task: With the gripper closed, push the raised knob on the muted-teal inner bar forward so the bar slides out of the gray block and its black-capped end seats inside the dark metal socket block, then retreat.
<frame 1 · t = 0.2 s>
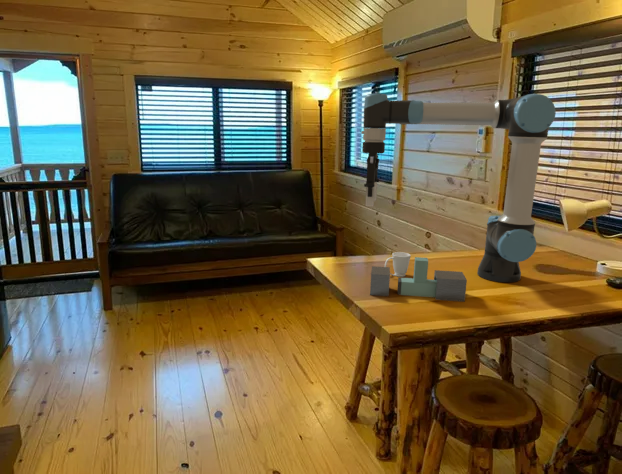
hand: (371, 203, 165), 28 cm above the table, fingers open, 13 cm apart
cup: (396, 275, 176), on the table
socket: (379, 291, 158), on the table
gray block: (448, 295, 155), on the table
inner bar: (431, 277, 155), point 6 cm above the table, slide at 0.0 cm
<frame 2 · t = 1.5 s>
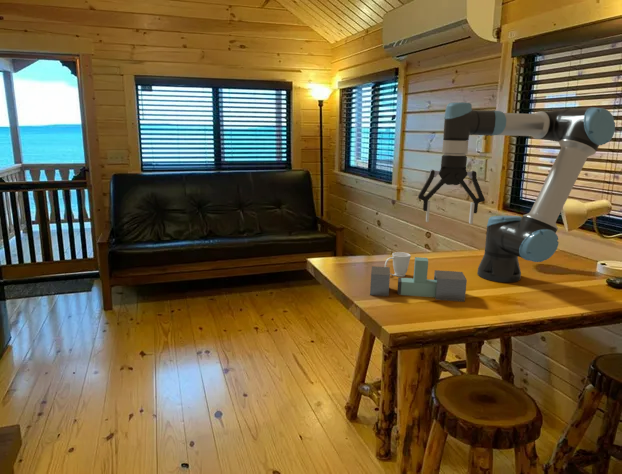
hand: (448, 222, 150), 25 cm above the table, fingers open, 13 cm apart
nothing on the table moved.
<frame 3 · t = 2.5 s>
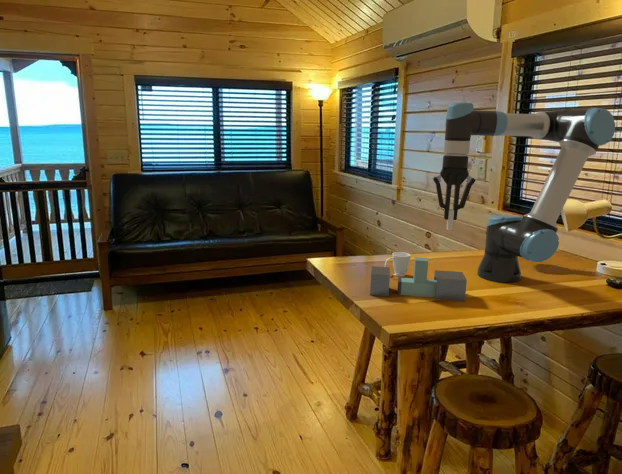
hand: (449, 229, 150), 22 cm above the table, fingers closed
nothing on the table moved.
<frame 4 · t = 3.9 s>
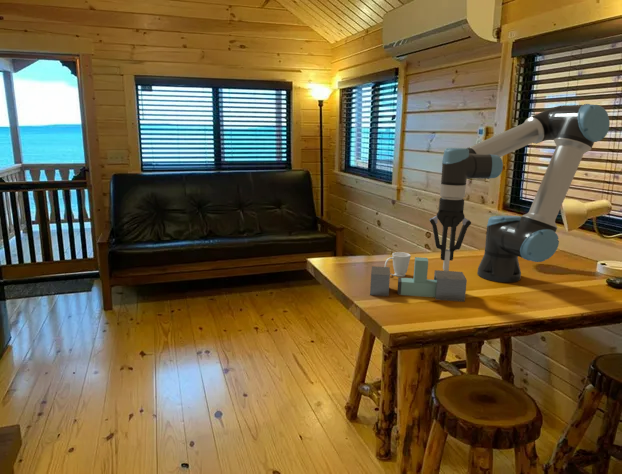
hand: (445, 269, 153), 9 cm above the table, fingers closed
nothing on the table moved.
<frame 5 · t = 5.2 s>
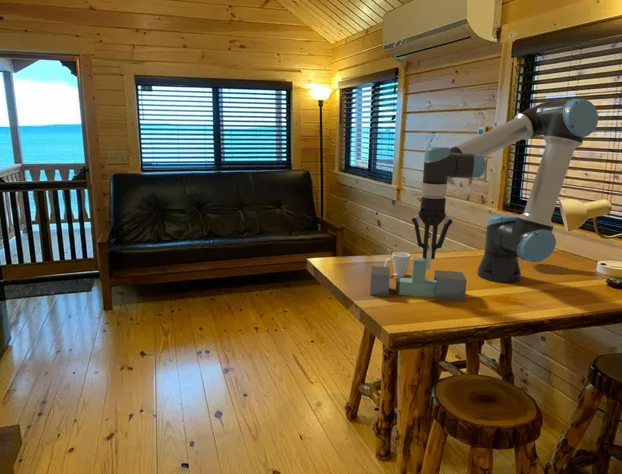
hand: (427, 268, 154), 9 cm above the table, fingers closed
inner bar: (429, 277, 155), point 6 cm above the table, slide at 0.6 cm, touching gripper
everything else where it was.
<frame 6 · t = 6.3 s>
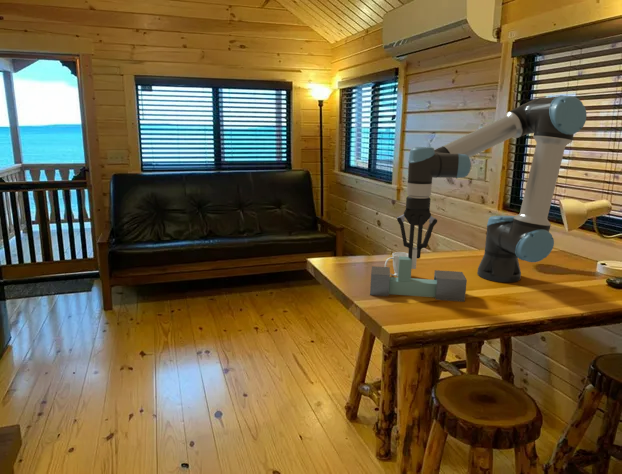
hand: (413, 267, 155), 9 cm above the table, fingers closed
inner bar: (415, 276, 155), point 6 cm above the table, slide at 5.1 cm, touching gripper
everything else where it was.
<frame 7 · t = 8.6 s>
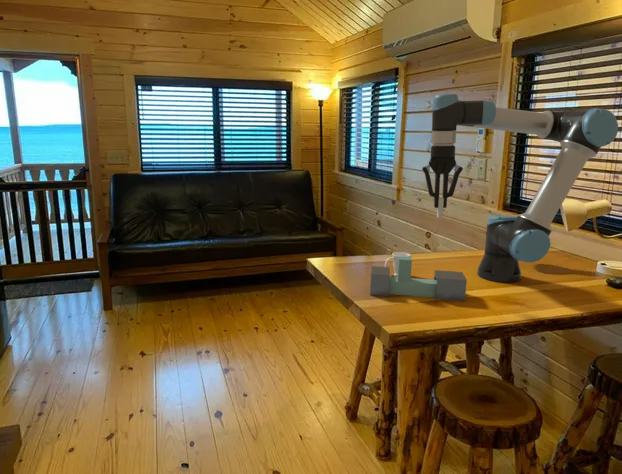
hand: (439, 217, 155), 25 cm above the table, fingers closed
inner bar: (414, 276, 155), point 6 cm above the table, slide at 5.2 cm
everything else where it was.
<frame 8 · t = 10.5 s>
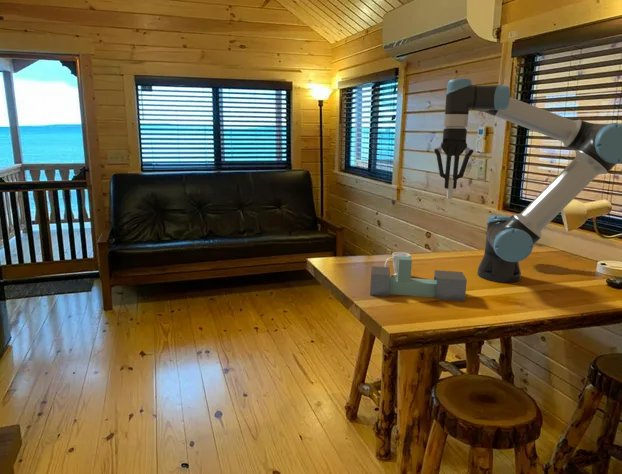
hand: (449, 198, 162), 30 cm above the table, fingers closed
nothing on the table moved.
at the end: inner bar slide at 5.2 cm; the gripper is holding nothing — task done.
